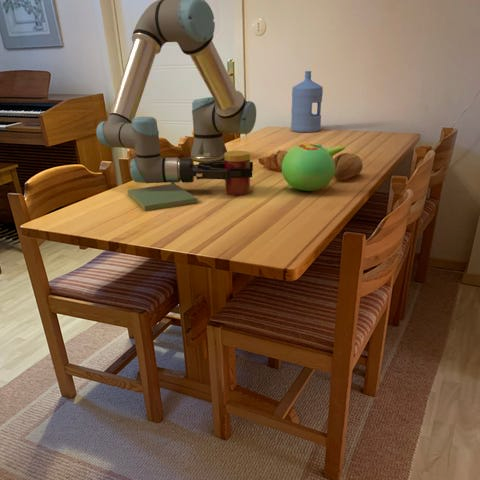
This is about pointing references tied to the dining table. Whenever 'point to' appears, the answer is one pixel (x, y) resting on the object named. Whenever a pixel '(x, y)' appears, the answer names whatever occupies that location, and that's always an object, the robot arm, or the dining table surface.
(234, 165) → the jam jar
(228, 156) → the jam lid
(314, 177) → the toy bird
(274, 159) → the croissant
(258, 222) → the dining table surface
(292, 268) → the dining table surface
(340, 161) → the bread roll
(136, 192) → the corner board
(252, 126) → the robot arm
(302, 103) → the water jug
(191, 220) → the dining table surface
